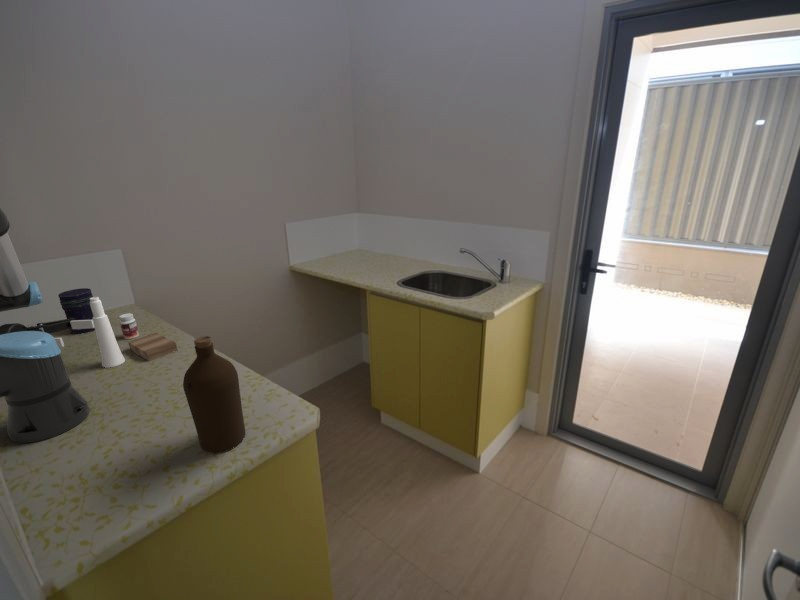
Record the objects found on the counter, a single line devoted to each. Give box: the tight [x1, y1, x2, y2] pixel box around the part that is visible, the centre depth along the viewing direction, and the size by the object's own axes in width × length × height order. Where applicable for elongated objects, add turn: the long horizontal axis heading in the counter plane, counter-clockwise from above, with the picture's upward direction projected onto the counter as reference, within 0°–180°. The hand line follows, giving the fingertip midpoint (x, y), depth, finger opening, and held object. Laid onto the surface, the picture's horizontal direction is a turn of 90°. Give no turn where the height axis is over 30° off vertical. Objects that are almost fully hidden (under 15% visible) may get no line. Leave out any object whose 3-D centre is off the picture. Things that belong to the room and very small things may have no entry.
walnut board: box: [127, 332, 178, 362], centre depth 132 cm, size 14×9×3 cm, turn 54°
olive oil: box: [182, 335, 246, 454], centre depth 85 cm, size 11×11×25 cm
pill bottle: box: [118, 312, 140, 340], centre depth 142 cm, size 5×5×8 cm
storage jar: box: [57, 287, 95, 335], centre depth 149 cm, size 10×10×15 cm
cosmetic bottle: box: [90, 296, 126, 369], centre depth 121 cm, size 6×6×22 cm
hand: (78, 332), depth 121 cm, fingers open, 13 cm apart
